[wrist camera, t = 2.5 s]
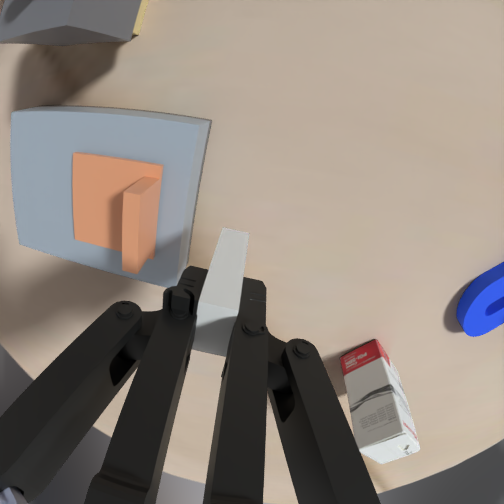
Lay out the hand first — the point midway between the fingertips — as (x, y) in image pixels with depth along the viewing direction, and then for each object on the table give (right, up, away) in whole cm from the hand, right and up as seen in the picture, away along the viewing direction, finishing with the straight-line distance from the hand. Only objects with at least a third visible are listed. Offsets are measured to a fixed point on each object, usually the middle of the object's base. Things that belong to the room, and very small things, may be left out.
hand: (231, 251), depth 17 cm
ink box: (+15, -13, +14) cm, 25 cm away
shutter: (-8, +3, +1) cm, 9 cm away
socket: (-11, +6, +5) cm, 13 cm away
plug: (-9, +18, -2) cm, 20 cm away
